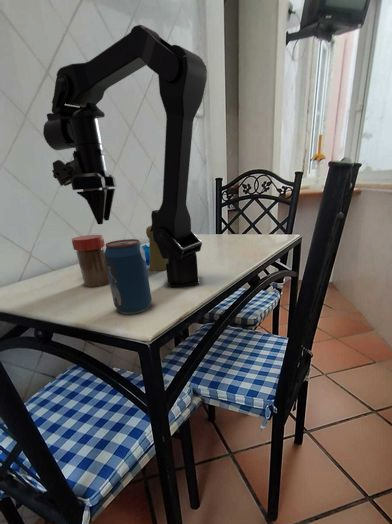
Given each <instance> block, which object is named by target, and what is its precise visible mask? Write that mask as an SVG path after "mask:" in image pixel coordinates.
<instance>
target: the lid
mask: <svg viewBox="0 0 392 524" xmlns="http://www.w3.org/2000/svg"><path fill="white" fill-rule="evenodd" d="M103 236H104V235H102V234H87V235H80V236H76V237H75V236H74V237H73V238H71V243H72V248H73V250H74V251H75V252H76V251H86V250H94V249H99V248H102V247H103V248H105V247H106V243H105V241H104V240H105V239H104V237H103Z"/></svg>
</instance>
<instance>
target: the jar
mask: <svg viewBox="0 0 392 524" xmlns="http://www.w3.org/2000/svg"><path fill="white" fill-rule="evenodd" d="M75 252H76V256H77V257H76V258H77V260H78V261H77V262H78V265H79V269H80V273H81V277H82V281H83V285H84V286H85V287H87V288H97V287H103V286H106V285H108V284H110V282H109V277H108V272H107V267H106V262H105V257H104V253H105V247H102V248H99V249H94V250H86V251H76V250H75Z"/></svg>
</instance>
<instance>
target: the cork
mask: <svg viewBox="0 0 392 524" xmlns="http://www.w3.org/2000/svg"><path fill="white" fill-rule="evenodd" d="M151 227H152V224H151V225H148V226H147V227H146V229H145V234H146V237H147V238H148V241H149V243H148V247H149V249H148V250H149V253H148V254H149V270H150V271H154V272H160V271H161V272H162V271H166V262H168V259H163V258H162V256H161V253H160V251H159V248H158V246H157V244H156V242H154V239H153V231H152V232H151V231H150V230H151Z"/></svg>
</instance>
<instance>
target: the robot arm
mask: <svg viewBox="0 0 392 524" xmlns="http://www.w3.org/2000/svg"><path fill="white" fill-rule="evenodd" d="M144 67H148V68H149V69H150V70H151V71H153V72H154V73H155V74H157V76H158V89H159V96H160V99H161V103H162V106H163V108H164V112H165V118H166V119H165V120H166V121H165V140H164V161H163V163H164V164H163V184H162V201H161V204H160V207H159V209H155V210H152V211H151V215H150V216H151V217H150V218H151V225H152V227H151V230H150V231H151V232H152V231H153V239H154V242H156V244H157V246H158V248H159V251H160V253H161V256H162V258H163V259H168V262H166V270H165V271H166V279H167V283H169V287H170V288H176V287H177V288H178V287H189V286H199V285H200V279H199V271H198V270H199V269H198V258H197V257H198V256H197V253H199V252H201V250H202V245H203V242H202V240H201V239H200V238H199V237H198V236H197V235H196V233H194V231H193V230H192V219H191V215H190V212H189V209H188V205H187V200H188V199H187V198H188V185H189V175H190V164H191V163H190V162H191V151H192V142H193V141H192V140H193V129H194V128H193V127H194V119H195V117H196V116H197V115H196V114H197V113H198V111H199V108H200V106H201V104H202V102H203V99H204V94H205V90H206V85H207V80H208V70H207V65H206V64H205V62H204V60H203V58H201V57H200V56H199V55H198V54H196V53H194V52H193V51H190V50H188V49H186V48H185V47H183V46H180V45H177V44H171V43H169V42H167V41H166V40H165V39H163V38H162V37H161V36H160V35H159V33H158V32H156V31H155V30H153V29H151V28H148V27H147V26H145V25H142V24H137V25H134V26H133V27H131V29H130V32H128V33H127V34H126V35H125V36H123V37H121V38H120V39H119V40H117V41H116V42H114V43H113V44H112V45H110V46H108V47H107V48H106V49H105V50H103V51H102V52H100V53H98V55H96V56H94V57H93V58H91V59H89V60H88V61H86V62H78V63H70V64H68V65H65V66H62V67H60V68H59V69H58V70H57V72H56V77H55V83H54V90H53V91H54V92H53V97H52V100H51V104H52V105H51V112H50V113H46V118H47V121H46V122H45V123H44V124H43V131H42V134H43V138H44V140H45V142H46V143H47V145H48V146H49V147H50V148H51V149H52V150H53V151H63V150H71V149H75V150H73V152H72V157H73V159H72V160H70V161H67V162H64V161H62V159H61V160H60V159H57V160H55V161H53V162H52V170H51V172H52V174H53V175H52V176H53V178H54V179H56V180H57V183H59V185H60V187H63V186H64V187H67V186H69V185H71V188H72V191H76V194H77V195H78V196H80V197H82V198H83V199H84V200H85V201H86V202H87V204H88V206H89V209H90V211H91V212H92V215H93V217H94V219H95V221H96V223H97V225H103V224H104V221H107V222H108V221H109V220H110V216H111V212H112V206H113V201H114V197H115V192H116V188H117V182H116V178H115V177H114V175H112V174H110V172H109V171H108V170H107V164H106V160H105V157H106V155H107V154H106V150H104V149H103V143H102V137H101V131H100V125H99V121H98V119H101V118H105V116H106V114H105V112H104V111H102V110H101V109H100V108H99V107H98V105H97V104H98V103H100V102H101V101H102V100H103V98H104V95H105V92H106V91H107V90H108V89H109V88H110V87H112V86H114V85H115V84H117V83H119V82H120V81H122V80H124V79H125V78H127V77H129V76H131V75H132V74H134V73H136V72H137V71H139V70H141V69H142V68H144ZM81 190H82V191H81Z"/></svg>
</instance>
